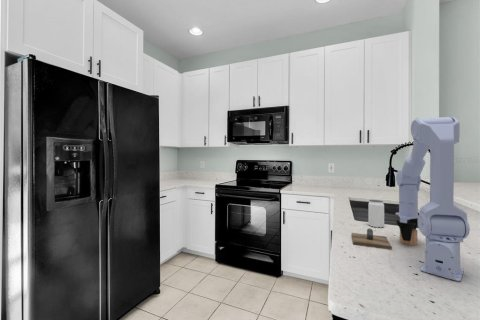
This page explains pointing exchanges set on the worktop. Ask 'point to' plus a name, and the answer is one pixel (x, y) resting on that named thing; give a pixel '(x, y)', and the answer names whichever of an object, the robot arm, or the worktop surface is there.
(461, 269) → the robot arm
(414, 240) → the tube
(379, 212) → the can
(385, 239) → the holder
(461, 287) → the worktop surface
